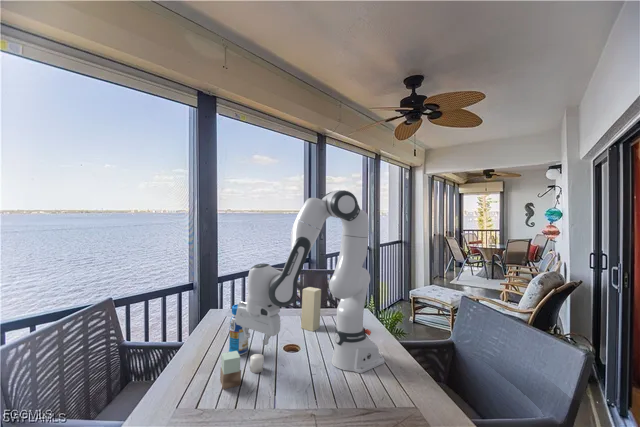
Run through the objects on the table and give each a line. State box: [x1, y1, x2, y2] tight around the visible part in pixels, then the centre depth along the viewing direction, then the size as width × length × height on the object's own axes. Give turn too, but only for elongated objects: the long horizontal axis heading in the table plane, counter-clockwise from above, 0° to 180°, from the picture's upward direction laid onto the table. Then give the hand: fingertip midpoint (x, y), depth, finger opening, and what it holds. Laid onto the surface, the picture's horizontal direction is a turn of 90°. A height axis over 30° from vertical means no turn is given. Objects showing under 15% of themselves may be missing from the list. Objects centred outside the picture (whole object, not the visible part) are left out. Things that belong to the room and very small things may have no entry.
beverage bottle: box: [228, 303, 250, 356], centre depth 132 cm, size 8×8×20 cm
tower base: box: [219, 367, 242, 390], centre depth 108 cm, size 6×6×5 cm
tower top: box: [220, 351, 241, 375], centre depth 108 cm, size 6×6×5 cm
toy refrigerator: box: [300, 286, 322, 332], centre depth 161 cm, size 8×7×21 cm
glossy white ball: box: [249, 353, 264, 374], centre depth 117 cm, size 5×5×5 cm
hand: (256, 340), depth 117 cm, fingers open, 8 cm apart
